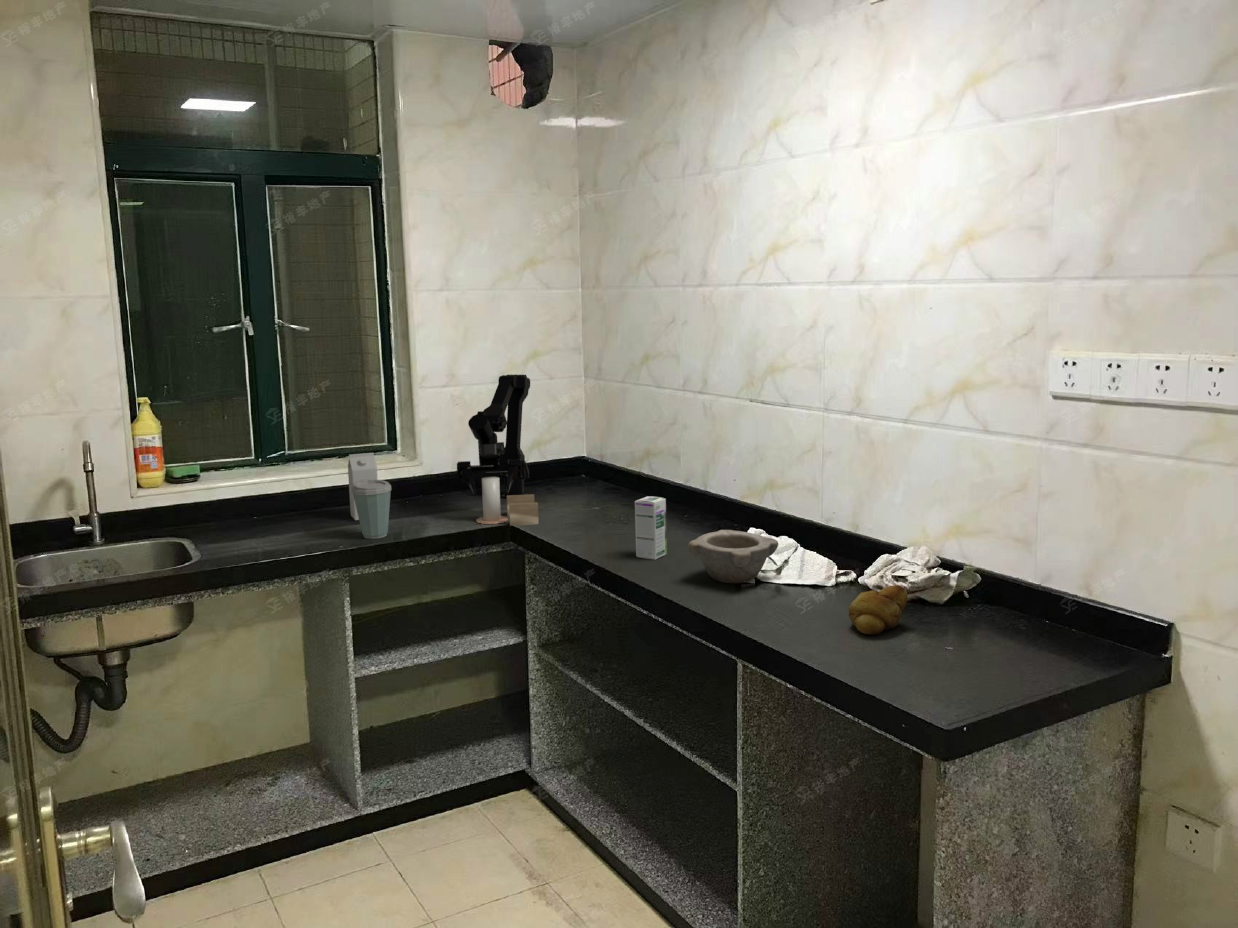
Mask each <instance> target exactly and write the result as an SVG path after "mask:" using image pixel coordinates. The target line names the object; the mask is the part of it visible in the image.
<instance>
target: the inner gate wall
mask: <svg viewBox="0 0 1238 928" xmlns="http://www.w3.org/2000/svg"><path fill="white" fill-rule="evenodd" d="M516 503H536V501H535V494H533V493H532V494H528V495H509V496H507V498H506V516H507V517H510V514H509V504H516Z"/></svg>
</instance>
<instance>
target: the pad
mask: <svg viewBox="0 0 1238 928" xmlns="http://www.w3.org/2000/svg"><path fill="white" fill-rule="evenodd" d="M475 520H476V523H477V524H479V523H481V524H480V525H484V524H490V525H491V524H495V525H499V524H498V523H502V524H505V523H507V522H508V520H509V518H508V516H507V517H506V516H502V515H501V519H500V520H498V521H484V520H483V516H481V517H480V516H479V517H477V518H476V519H475ZM506 521H507V522H506ZM504 522H505V523H504ZM490 525H489V526H490ZM491 526H492V525H491Z"/></svg>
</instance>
